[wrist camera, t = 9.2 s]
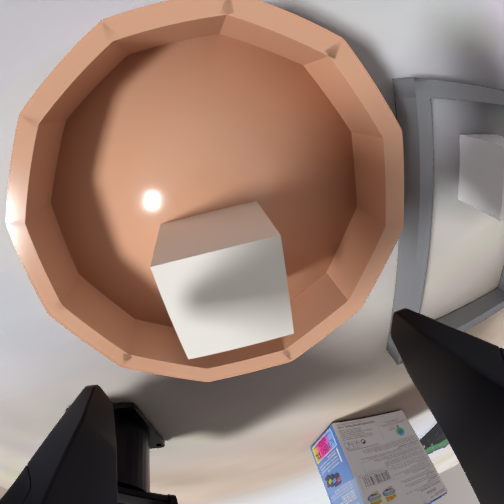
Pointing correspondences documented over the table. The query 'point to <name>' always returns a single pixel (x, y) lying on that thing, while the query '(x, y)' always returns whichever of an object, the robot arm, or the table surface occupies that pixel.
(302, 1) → the table surface
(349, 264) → the bowl
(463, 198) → the pale grey cubic block
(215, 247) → the white matte cube
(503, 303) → the parts tray
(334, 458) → the ink cartridge box
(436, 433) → the disk drive
